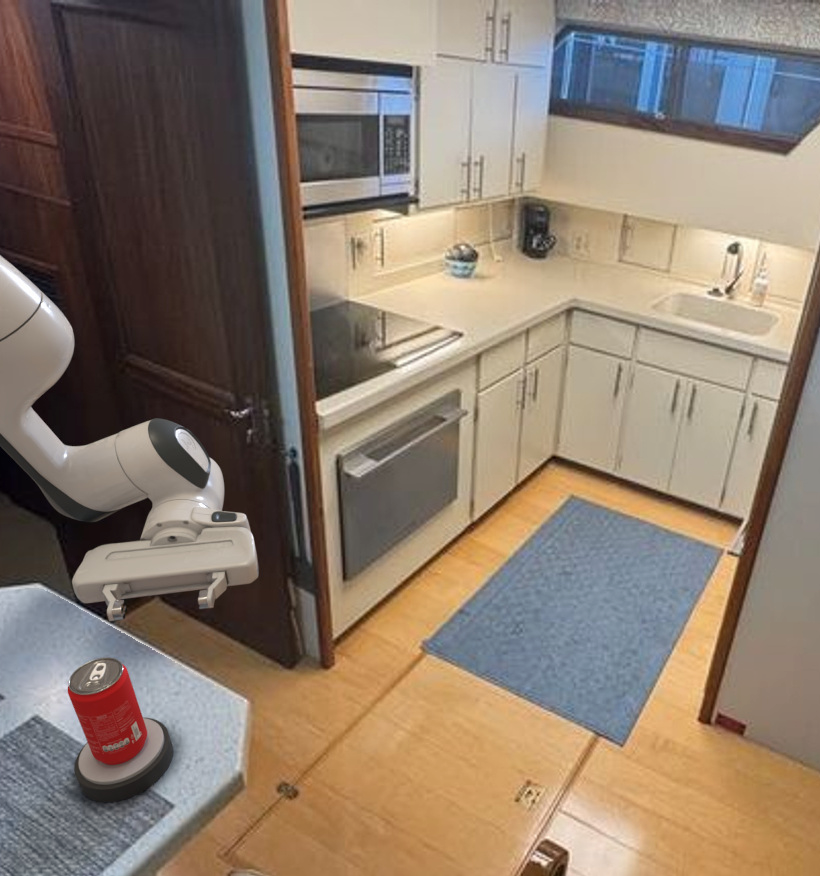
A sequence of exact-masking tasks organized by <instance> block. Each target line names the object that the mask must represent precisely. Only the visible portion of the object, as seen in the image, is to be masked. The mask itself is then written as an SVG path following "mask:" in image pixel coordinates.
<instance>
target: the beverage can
mask: <svg viewBox="0 0 820 876" xmlns="http://www.w3.org/2000/svg"><path fill="white" fill-rule="evenodd" d="M67 682H68V686H67V694H68V697H69V700H70V702H71V704H72V707H73V709H74V711H75V712H74V713H75V714H76V718H77V719H78V722H79V725H80V727H81V729H82V732H83V734H84V737H85V739H86V743H87V742H88V744H89V747H90V749H91V752H92V754H93V756H94V758H95V759H97V760H98V761H101V762H102V763H104V764H106V765H119V764H123V763H125V762H128V761H129V760H131V759H133V758H134V757H135V756H137V755H138V754H139V753H140V752H141V750H142V749H143V747H144V745H145V740H146V738H147V729H146V726H145V723H144V720H143V718H144V717H143V713H142V711H141V707H140V705H139V701H138V698H137V695H136V692H135V689H134V686H133V683H132V680H131V677H130V673H129V671H128V668H127V667H126V666H125V664H123V663H122V662H121V661H120V660H119V659H118V658H114V657H101V658H96V659H93V660H90V661H88V662H85V663H84V664H82V665H80V666H78V668H76V669H75V670H74V671H73V672H72V674H71V675H70V677H69V679H68V681H67Z"/></svg>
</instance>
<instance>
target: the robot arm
mask: <svg viewBox="0 0 820 876" xmlns="http://www.w3.org/2000/svg"><path fill="white" fill-rule="evenodd" d="M74 351H75V334H74V329H73V327H72V325H71V323H70V321H69V320H68V318H67V317H66V316H65V314H64V313H63V312H62V310H61V309H60V308H59V307H58V306H57V305H56V304H55V303H54V302H53V301H52V300H51V299H50V298H49V297H48V296H47V295H46V294H45V293H44V292H43V291H42V290H41V289H40V288H39V287H38V286H37V285H36V284H35V283H34V282H32V281H31V280H30V279H29V278H28V277H27V276H26V275H25V274H23V272H21V271H20V270H19V269H18V268H17V267H15V266H14V265H13V264H12V263H11V262H9V261H8V259H6V258H4V257H3V256H2V255H1V254H0V448H2V450H4V451H5V453H6V454H7V455H8V456H10V458H11V459H13V461H15V463H16V464H17V465H18V466H19V467H20V468H21V469H22V470H23V471H24V472H25V473H26V474H27V475H28V476H29V477H30V478H31V480H32V481H34V482H35V484H36V485H37V486H38V487H39V489H40V490H41V492H42V494H43V495H44V497H45V499H46V500H47V501H48V503H49V504H50V505H51V506H52V507H53V509H54V510H55V511H57V512H58V513H59V514H61V515H63V516H65V517H67V518H71V519H73V520H76V521H81V522H85V523H95V522H98V521H101V520H103V519H105V518H107V517H109V516H111V515H113V514H114V513H116V512H118V511H120V510H122V509H124V508H126V507H128V506H131V505H133V504H135V503H138V502H141V501H143V500H146V499H149V500H150V501H151V503H152V504H151V505H152V506H151V507H152V508H151V510H149V512H148V515H147V517H146V519H145V523H144V526H143V529H142V533H141V536H140V537H139V539H138V540H131V541H124V542H116V543H114V542H110V543H103V544H101V545H98V546H97V547H95V548H93V549H90V550H87V552H86V553H85V555H84V557H83V559H82V561H81V563H80V565H79V566H78V567H77V569H76V571H75V573H74V574H73V577H72V579H71V583H72V588H73V591H74V594H75V596H76V598H77V599H78V600H79V601H80V602H81V603H83V604H93V603H99V602H100V603H101V602H105V604H106V606H107V609H106V616H107V619H108V621H109V622H114V621H122V620H125V618H126V615H127V612H128V608H127V606H126V601H125V599H126V600H127V599H132V598H133V599H134V598H142V597H150V596H158V595H167V594H175V593H183V592H191V591H198V597H197V604H198V605H199V606H198V609H199V610H205V609H206V610H207V609H213V608H214V606H215V601H216V600H217V599H218V598H219V597H220V596H221V595H222V594H223V593H224V592H225V591H227V588H228V587H232V586H241V585H249V584H252V583H253V582H254V581H256V580H257V579H258V578H259V569H260V568H259V561H258V554H257V548H256V543H255V537H254V535H253V533H252V531H251V526H250V522H249V519H248V517H247V514H245V513H243V512H235V511H227V510H226V511H225V510H224V511H223V507H224V501H225V482H224V476H223V472H222V469H221V467H220V466H219V465H218V463H217V462H216V461H215V460H214V459H213V458H211V457H210V456H209V453H208V452H207V450H206V448H205V447H204V444H202V442H201V441H200V439H199V438H198V437H197V436H196V435H195V434H194V432H192V431H191V430H190V429H189V428H186V427H185V426H182V425H181V424H178V423H176V422H174V421H171V420H169V419H165V418H159V417H157V418H156V417H155V418H152V419H150V420H147V421H144V422H141V423H138V424H136V425H134V426H130V427H128V428H126V429H123V430H121V431H119V432H117V433H115V434H112V435H109V436H106V437H104V438H101V439H99V440H96V441H93V442H91V443H88V444H85V445H76V446H75V445H73V446H72V445H67V444H65V443H63V441H61V440H60V439H59V437H58V436H57V435H56V434H55V433H54V431H52V429H51V428H50V427H49V426H48V425H47V423H45V422H44V420H43V418H41V417H40V416H39V414H38V413H37V412H36V411H35V410H34V409H33V407H32V406H33V405H34V403H35V402H37V400H38V399H39V398H41V396H42V395H44V394H45V393H46V392H47V391H49V389H51V388H52V387H53V386H54V385H56V383H57V382H58V381H59V380H60V379H61V378H62V376H63V375H64V373H65V372H66V370H67V368H68V367H69V365H70V363H71V361H72V358H73V356H74Z"/></svg>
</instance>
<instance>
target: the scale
mask: <svg viewBox="0 0 820 876" xmlns="http://www.w3.org/2000/svg"><path fill="white" fill-rule="evenodd" d="M143 720H144V723H145V726H146V729H147V738H146V740H145V745H144V747H143V749H142V750H141V752H140V753H139V754H138V755H137V756H135V757H134V758H133V759H131V760H129V761H128V762H125V763H123V764H119V765H106V764H104V763H102V762H101V761H98V760H97V759H95V758H94V756H93V754H92V752H91V749H90V747H89V744H88V742H87V741H86V743H85V744H84V745H83V746H82V748H81V749H80V750H79V752H78V754H77V756H76V759H75V762H74V767H73V768H74V769H73V771H74V776H75V778H76V780H77V783H78V785H79V787H80V789H81V792H82V793H83V794H84V795H85V796H86V798H89V799H90V800H92V801H96V802H99V803H113V802H114V803H115V802H120V801H125V800H128V799H130V798H133V797H136V796H138V795H139V794H141V793H143V792H144V791H146V790H148V789H149V788H150V787H153V785H154V784H155V783H157V782H158V781H159V780H160V779H161V778H162V777H163V775H165V773H166V771H167V770H168V768H169V767H170V764H171V762H172V760H173V756H174V746H173V742H172V740H171V735H170V732H169V730H168V728H167V727H166V726H165V724H163V723H162V722H161V721H159V720H157V719H155V718H150V717H143Z"/></svg>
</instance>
